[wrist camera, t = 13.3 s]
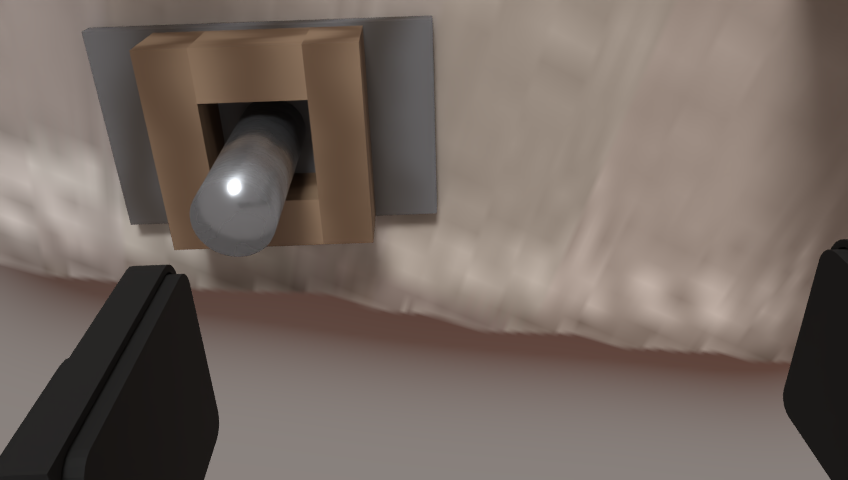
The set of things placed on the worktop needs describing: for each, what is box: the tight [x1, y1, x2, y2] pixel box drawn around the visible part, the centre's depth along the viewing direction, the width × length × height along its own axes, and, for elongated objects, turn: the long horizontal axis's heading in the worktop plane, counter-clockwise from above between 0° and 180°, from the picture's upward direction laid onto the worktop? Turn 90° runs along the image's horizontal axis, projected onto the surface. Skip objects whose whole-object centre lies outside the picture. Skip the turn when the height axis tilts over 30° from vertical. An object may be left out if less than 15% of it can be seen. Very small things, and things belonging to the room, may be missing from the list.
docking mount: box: [82, 16, 437, 250], centre depth 43 cm, size 20×12×5 cm, turn 92°
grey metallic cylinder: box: [190, 101, 306, 257], centre depth 39 cm, size 4×4×12 cm
